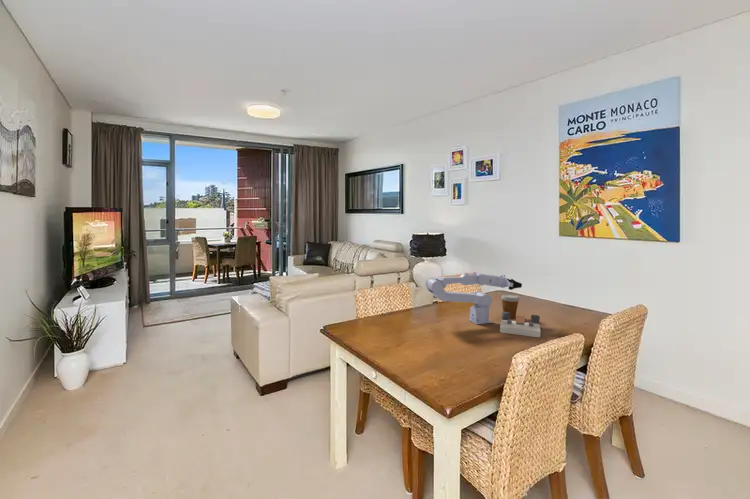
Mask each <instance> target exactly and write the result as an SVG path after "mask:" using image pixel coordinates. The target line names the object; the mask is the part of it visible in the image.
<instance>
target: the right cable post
mask: <svg viewBox="0 0 750 499" xmlns="http://www.w3.org/2000/svg"><path fill="white" fill-rule="evenodd" d="M530 322H533V323H535V324H540V315H538V314H531V315H530Z"/></svg>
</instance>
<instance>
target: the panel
mask: <svg viewBox="0 0 750 499" xmlns="http://www.w3.org/2000/svg"><path fill="white" fill-rule="evenodd" d="M540 325H541V324H540V323H539V324H535V323H533V322H531V321H529V322H525V325H520V324H516V320H512V319H510V320H502V319H501V321H500V325H499V333H501V334H502V333H503V334H509V335H510V334H511V335H519V336H525V337H534V338H541V326H540Z"/></svg>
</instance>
